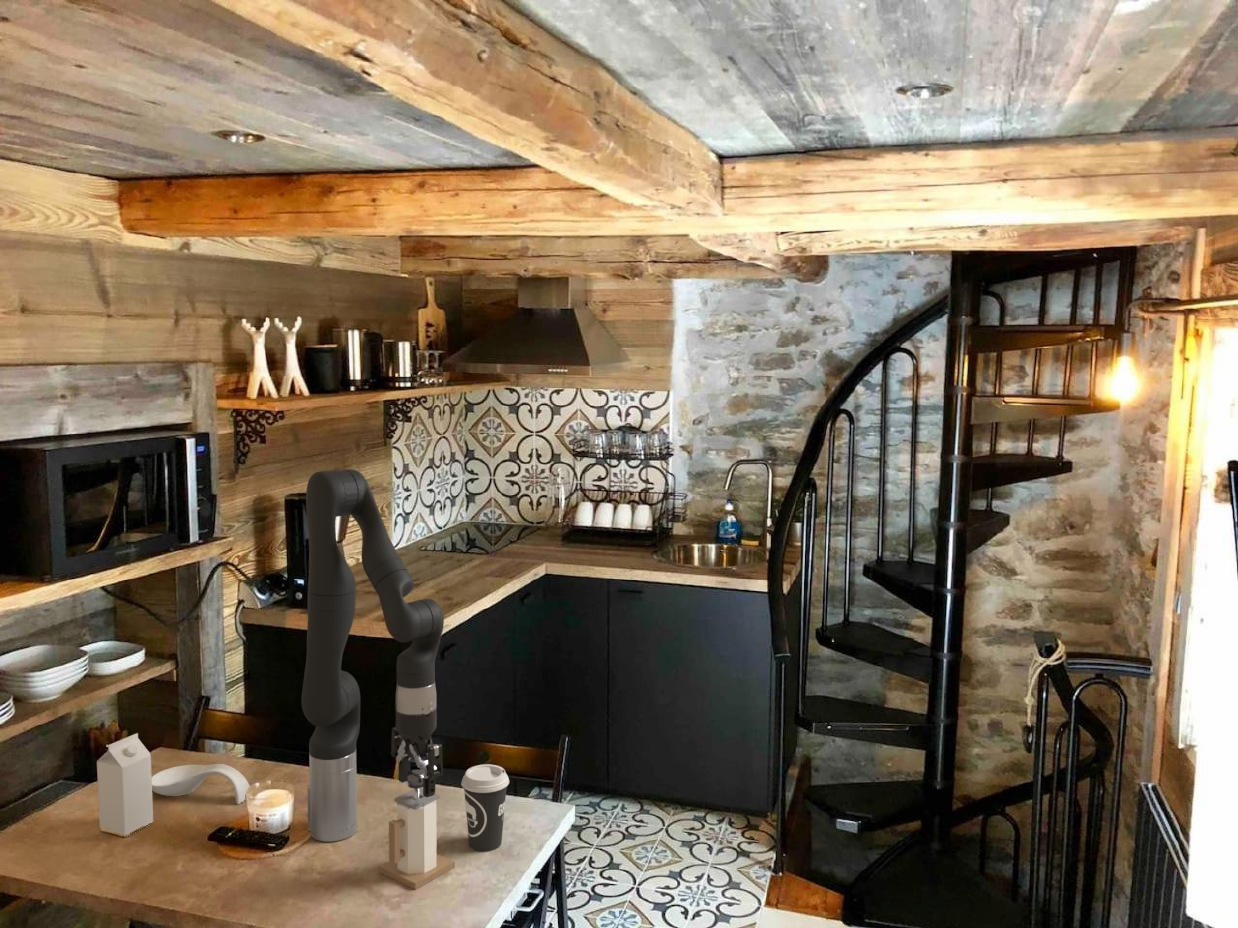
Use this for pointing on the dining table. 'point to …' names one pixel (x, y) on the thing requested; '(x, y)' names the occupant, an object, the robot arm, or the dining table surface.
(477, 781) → the coffee cup
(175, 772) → the spoon rest
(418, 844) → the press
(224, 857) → the dining table surface
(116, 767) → the milk carton
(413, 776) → the plunger
